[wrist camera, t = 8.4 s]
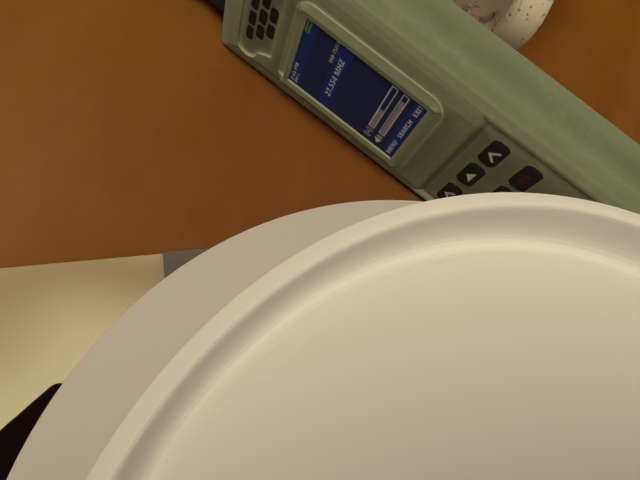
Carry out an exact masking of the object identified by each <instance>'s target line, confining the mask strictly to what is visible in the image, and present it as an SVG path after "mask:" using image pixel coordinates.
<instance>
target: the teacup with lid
mask: <svg viewBox="0 0 640 480" xmlns="http://www.w3.org/2000/svg"><path fill="white" fill-rule="evenodd" d="M451 1H452V2H454V3H455V4H456V5H458V6H459V7H460V8H462V9H463V10H464V11H465V12H467V13H468V14H469V15H471V16H472V17H473V18H475V19H476V20H477V21H478V22H480V23H481V24H482V25H484V26H485V27H486V28H488V29H489V30H490V31H492V32H493V33H494V34H495V35H497V36H498V37H499V38H501V39H502V40H503V41H505V42H506V43H507V44H508V45H510V46H511V47H512V48H514V49H515V50H518V49H519V48H520V47H522V46H523V45H524V44H525V43H526V42H527V41H528V40H529V39H530V38H531V37H532V36H533V35H534V33H535V32H536V31H537V30H538V28H539V27H540V25H541V24H542V22H543V21H544V19H545V18H546V16H547V14H548V12H549V10H550V8H551V6H552V3H553V2H554V1H555V0H451Z"/></svg>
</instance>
